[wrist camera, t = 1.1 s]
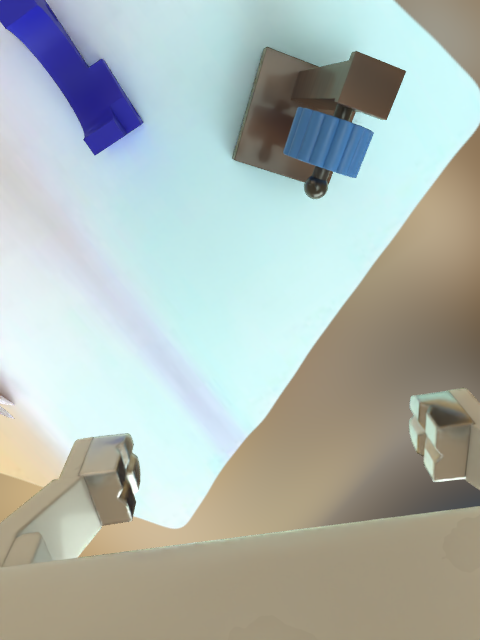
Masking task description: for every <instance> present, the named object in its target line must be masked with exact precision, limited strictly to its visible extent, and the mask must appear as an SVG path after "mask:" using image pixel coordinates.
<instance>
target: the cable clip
mask: <svg viewBox="0 0 480 640" xmlns="http://www.w3.org/2000/svg"><path fill="white" fill-rule="evenodd" d="M0 22H1V23H2V24H3V26H4V27H5V28H6V29H7V30H9V31H10V32H12V33H13V34H14V35H15V36H16V37H18V38H19V39H20V40H21V41H22V42H23V43H24V44H25V45H26V47H27V48H28V49H29V50H30V51H31V52H32V53H33V54H34V56H35V57H36V58H37V59H38V60H39V62H40V63H41V64H42V65H43V67H44V68H45V69H46V70H47V72H48V73H49V74H50V76H51V77H52V78H53V80H54V81H55V82H56V84H57V85H58V87H59V88H60V90H61V91H62V93H63V94H64V96H65V97H66V99H67V100H68V102H69V103H70V105H71V107H72V108H73V110H74V112H75V114H76V115H77V117H78V119H79V121H80V123H81V126H82V128H83V131H84V135H85V138H84V141H85V142H86V144H87V145H88V147H89V148H90V149H91V151H92V152H93V154H94V155H96V154H98V153H99V152H101V151H102V150H104V149H106V148H107V147H109V146H110V145H112V144H113V143H115V142H116V141H118V140H119V139H121V138H122V137H124V136H125V135H126V134H128V133H129V132H131V131H132V130H134V129H135V128H137V127H138V126H140V125H141V124H143V121H142V120H141V118H140V116H139V115H138V113H137V112H136V110H135V108H134V107H133V105H132V104H131V102H130V101H129V99H128V97H127V96H126V94H125V93H124V91H123V89H122V88H121V86H120V85H119V83H118V82H117V80H116V78H115V77H114V75H113V74H112V72H111V70H110V69H109V67H108V66H107V64H106V63H105V61H104V60H103V59H100V60H99V61H98V62H96V63H95V64H93V65H92V66H90V67H88V65H87V64H86V62H85V61H84V59H83V58H82V56H81V55H80V53H79V52H78V50H77V48H76V47H75V45H74V44H73V42H72V41H71V39H70V38H69V36H68V35H67V33H66V32H65V30H64V28H63V27H62V25H61V24H60V22H59V21H58V19H57V18H56V16H55V15H54V13H53V12H52V10H51V8H50V7H49V5H48V4H47V2H46V1H45V0H0Z"/></svg>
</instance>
